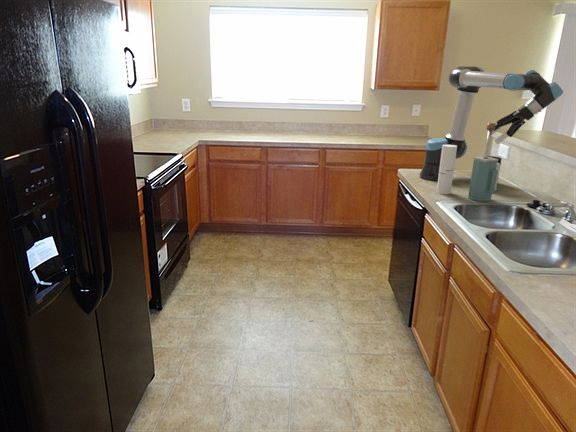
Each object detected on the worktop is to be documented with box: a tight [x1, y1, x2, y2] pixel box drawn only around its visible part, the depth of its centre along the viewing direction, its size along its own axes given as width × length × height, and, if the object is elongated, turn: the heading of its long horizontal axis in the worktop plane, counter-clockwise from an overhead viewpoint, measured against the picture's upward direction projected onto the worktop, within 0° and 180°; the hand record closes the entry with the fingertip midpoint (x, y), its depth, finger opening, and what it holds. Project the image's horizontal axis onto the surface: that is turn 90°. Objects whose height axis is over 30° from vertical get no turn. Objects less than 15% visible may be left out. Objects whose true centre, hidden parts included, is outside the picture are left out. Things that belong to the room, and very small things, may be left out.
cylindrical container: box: [436, 145, 457, 195], centre depth 229 cm, size 7×7×25 cm
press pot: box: [467, 156, 499, 203], centre depth 217 cm, size 13×11×21 cm
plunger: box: [483, 122, 497, 159], centre depth 214 cm, size 7×7×25 cm
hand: (491, 138), depth 224 cm, fingers open, 13 cm apart
